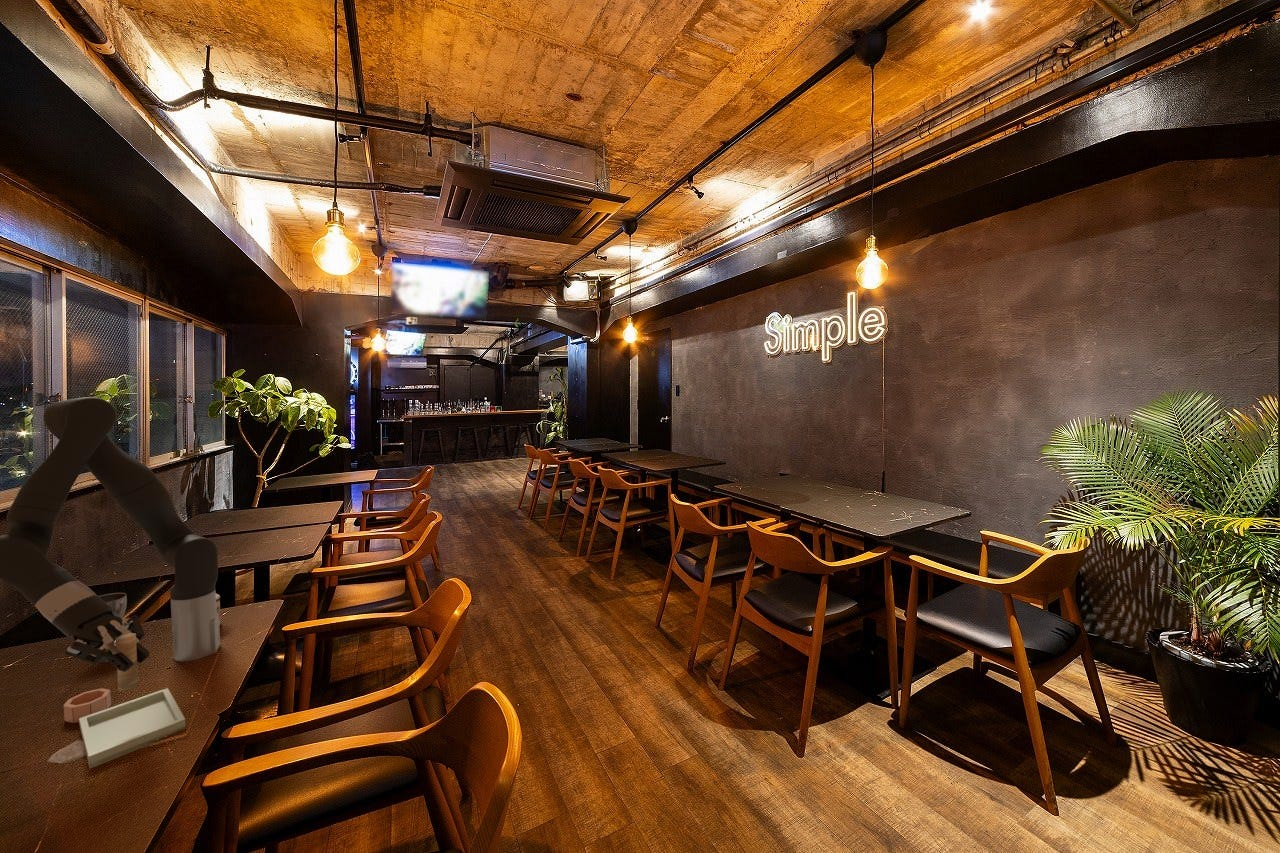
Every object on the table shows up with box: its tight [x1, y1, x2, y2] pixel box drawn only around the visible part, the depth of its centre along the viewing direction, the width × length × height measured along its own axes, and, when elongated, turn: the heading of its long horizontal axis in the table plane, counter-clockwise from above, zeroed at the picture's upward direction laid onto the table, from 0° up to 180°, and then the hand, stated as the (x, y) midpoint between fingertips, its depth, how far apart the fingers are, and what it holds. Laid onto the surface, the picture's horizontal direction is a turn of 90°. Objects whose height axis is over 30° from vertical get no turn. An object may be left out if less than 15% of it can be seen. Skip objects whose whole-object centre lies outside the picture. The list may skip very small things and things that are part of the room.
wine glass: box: [90, 592, 128, 657], centre depth 138 cm, size 8×8×15 cm
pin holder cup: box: [63, 688, 112, 724], centre depth 112 cm, size 7×7×4 cm
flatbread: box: [46, 738, 87, 765], centre depth 100 cm, size 8×8×1 cm
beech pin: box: [116, 633, 139, 692], centre depth 106 cm, size 3×3×11 cm
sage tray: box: [78, 687, 187, 769], centre depth 107 cm, size 18×14×2 cm
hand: (137, 663), depth 106 cm, fingers closed on beech pin, 3 cm apart
